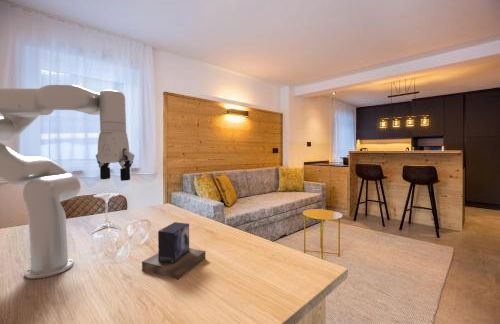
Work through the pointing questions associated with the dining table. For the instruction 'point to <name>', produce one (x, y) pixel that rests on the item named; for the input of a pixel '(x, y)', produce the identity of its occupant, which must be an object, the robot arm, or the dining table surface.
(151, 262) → the plinth
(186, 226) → the small box
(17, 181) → the robot arm
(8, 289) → the dining table surface
